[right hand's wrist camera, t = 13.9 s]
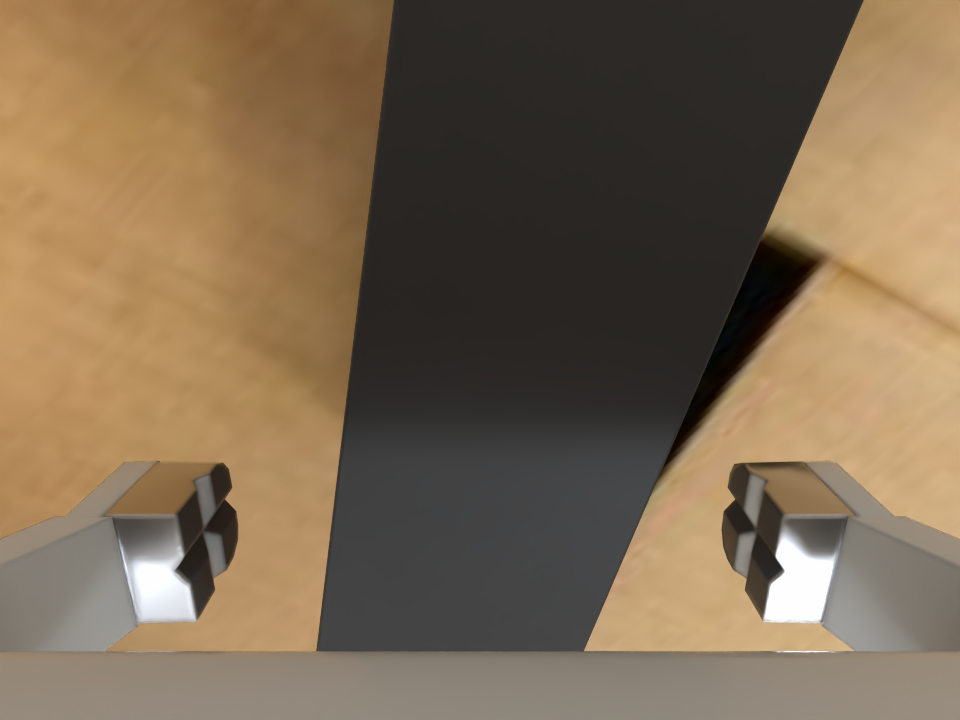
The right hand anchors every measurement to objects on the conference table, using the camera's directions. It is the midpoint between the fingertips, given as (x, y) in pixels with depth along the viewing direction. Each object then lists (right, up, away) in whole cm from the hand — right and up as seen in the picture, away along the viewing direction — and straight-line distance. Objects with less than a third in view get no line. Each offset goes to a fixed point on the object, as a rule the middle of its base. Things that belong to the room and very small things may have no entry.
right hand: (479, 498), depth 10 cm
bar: (+2, +10, +5) cm, 11 cm away
